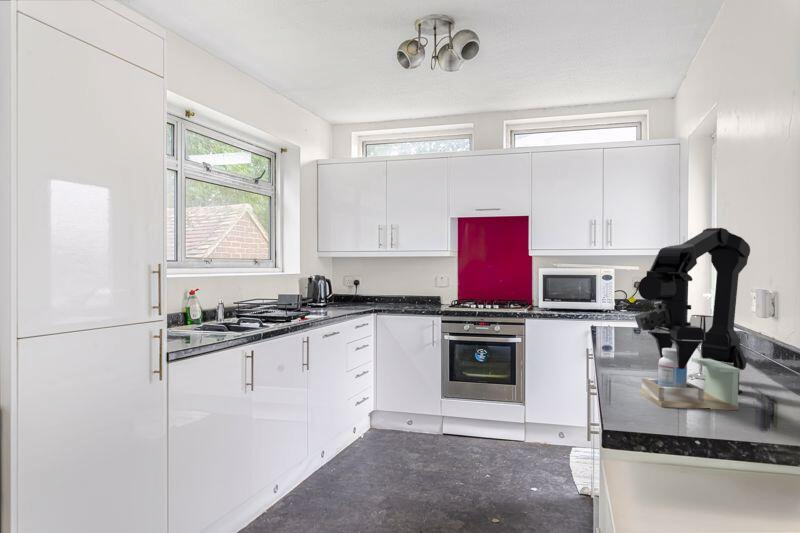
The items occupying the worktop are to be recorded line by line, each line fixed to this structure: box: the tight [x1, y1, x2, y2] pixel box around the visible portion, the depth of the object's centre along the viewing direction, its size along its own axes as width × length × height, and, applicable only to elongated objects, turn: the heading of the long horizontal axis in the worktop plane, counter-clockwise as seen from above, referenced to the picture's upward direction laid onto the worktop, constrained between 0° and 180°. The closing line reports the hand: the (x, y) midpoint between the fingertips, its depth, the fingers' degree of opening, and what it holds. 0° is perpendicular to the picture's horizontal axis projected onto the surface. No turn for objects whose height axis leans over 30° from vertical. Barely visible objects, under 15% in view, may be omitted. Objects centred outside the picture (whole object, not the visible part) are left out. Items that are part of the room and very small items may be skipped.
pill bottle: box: [657, 347, 688, 388], centre depth 127 cm, size 6×6×11 cm
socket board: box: [638, 377, 740, 411], centre depth 127 cm, size 17×13×4 cm
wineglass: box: [688, 314, 713, 380], centre depth 156 cm, size 8×8×18 cm
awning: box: [691, 357, 741, 406], centre depth 127 cm, size 4×13×9 cm, turn 177°
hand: (672, 365), depth 127 cm, fingers open, 9 cm apart
